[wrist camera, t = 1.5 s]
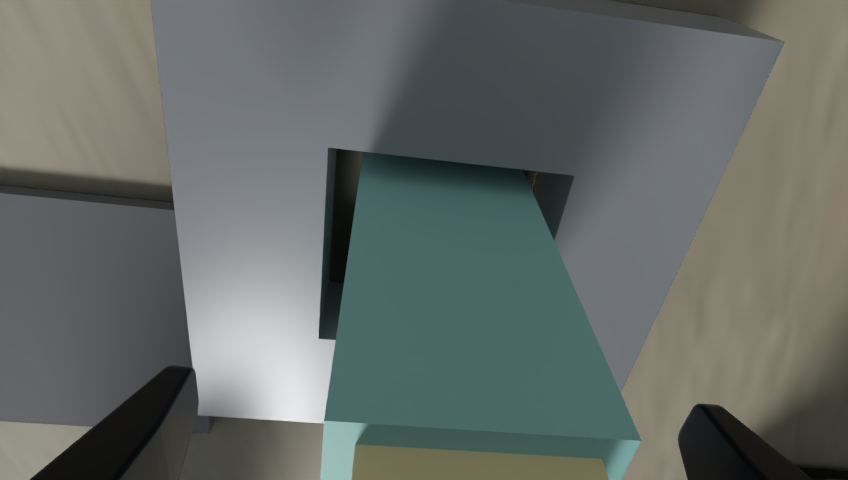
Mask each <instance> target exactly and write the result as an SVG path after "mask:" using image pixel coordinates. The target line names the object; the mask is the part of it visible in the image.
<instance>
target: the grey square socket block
mask: <svg viewBox="0 0 848 480" xmlns="http://www.w3.org/2000/svg"><path fill="white" fill-rule="evenodd" d="M150 1H151V9H152V18H153V27H154V35H155V44H156V53H157V62H158V70H159V79H160V88H161V96H162V105H163V114H164V122H165V131H166V140H167V149H168V157H169V166H170V175H171V183H172V192H173V201H174V209H175V218H176V227H177V236H178V244H179V253H180V262H181V270H182V279H183V288H184V297H185V305H186V314H187V323H188V331H189V340H190V349H191V357H192V366H193V368H194V369H195V372H196V379H197V388H198V397H199V406H198V415H199V416H215V417H230V418H246V419H262V420H278V421H294V422H310V423H324V417H325V411H326V404H327V397H328V390H329V383H330V376H331V369H332V362H333V355H334V349H335V342H336V335H337V328H338V321H339V314H340V307H341V300H342V293H343V287H344V283H337V282H329V273H330V256H331V239H332V222H333V205H334V188H335V171H336V154H337V149H345V150H354V151H363V152H371V153H380V154H389V155H398V156H406V157H415V158H424V159H433V160H441V161H450V162H459V163H468V164H477V165H485V166H494V167H503V168H512V169H520V170H529V171H538V176H537V180H536V183H535V187H534V191H533V194H534V196H535V199H536V201H537V203H538V205H539V208H540V210H541V212H542V215H543V217H544V219H545V221H546V224H547V226H548V228H549V231H550V233H551V235H552V237H553V240H554V242H555V244H556V247H557V249H558V251H559V253H560V256H561V258H562V260H563V263H564V265H565V267H566V269H567V272H568V274H569V276H570V279H571V281H572V283H573V285H574V288H575V290H576V292H577V295H578V297H579V299H580V301H581V304H582V306H583V308H584V311H585V313H586V315H587V318H588V320H589V322H590V324H591V327H592V329H593V331H594V334H595V336H596V338H597V340H598V343H599V345H600V347H601V350H602V352H603V354H604V356H605V359H606V361H607V363H608V366H609V368H610V370H611V372H612V375H613V377H614V379H615V382H616V384H617V386H618V388H619V391H620V393H621V391H622V389H623V387H624V385H625V383H626V380H627V378H628V376H629V374H630V372H631V370H632V368H633V365H634V363H635V361H636V359H637V357H638V355H639V353H640V351H641V348H642V346H643V344H644V342H645V340H646V338H647V336H648V333H649V331H650V329H651V327H652V325H653V323H654V321H655V318H656V316H657V314H658V312H659V310H660V308H661V306H662V303H663V301H664V299H665V297H666V295H667V293H668V291H669V288H670V286H671V284H672V282H673V280H674V278H675V276H676V273H677V271H678V269H679V267H680V265H681V263H682V261H683V258H684V256H685V254H686V252H687V250H688V248H689V246H690V243H691V241H692V239H693V237H694V235H695V233H696V231H697V229H698V226H699V224H700V222H701V220H702V218H703V216H704V214H705V211H706V209H707V207H708V205H709V203H710V201H711V199H712V196H713V194H714V192H715V190H716V188H717V186H718V184H719V181H720V179H721V177H722V175H723V173H724V171H725V169H726V166H727V164H728V162H729V160H730V158H731V156H732V154H733V151H734V149H735V147H736V145H737V143H738V141H739V139H740V136H741V134H742V132H743V130H744V128H745V126H746V124H747V121H748V119H749V117H750V115H751V113H752V111H753V109H754V107H755V104H756V102H757V100H758V98H759V96H760V94H761V92H762V89H763V87H764V85H765V83H766V81H767V79H768V77H769V74H770V72H771V70H772V68H773V66H774V64H775V62H776V59H777V57H778V55H779V53H780V51H781V49H782V47H783V44H784V42H783V41H781V40H778V39H776V38H773V37H771V36H768V35H766V34H763V33H761V32H758V31H755V30H753V29H750V28H748V27H745V26H743V25H740V24H738V23H735V22H733V21H730V20H728V19H725V18H722V17H717V16H710V15H703V14H697V13H690V12H683V11H677V10H670V9H663V8H656V7H650V6H643V5H636V4H630V3H623V2H616V1H609V0H150Z"/></svg>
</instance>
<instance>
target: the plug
mask: <svg viewBox="0 0 848 480" xmlns="http://www.w3.org/2000/svg"><path fill="white" fill-rule="evenodd" d="M640 443H641V439H640V436H639V434H638V432H637V430H636V427H635V425H634V423H633V420H632V418H631V416H630V414H629V411H628V409H627V407H626V404H625V402H624V400H623V398H622V395H621V393H620V391H619V388H618V386H617V384H616V382H615V379H614V377H613V375H612V372H611V370H610V368H609V366H608V363H607V361H606V359H605V356H604V354H603V352H602V350H601V347H600V345H599V343H598V340H597V338H596V336H595V334H594V331H593V329H592V327H591V324H590V322H589V320H588V318H587V315H586V313H585V311H584V308H583V306H582V304H581V301H580V299H579V297H578V295H577V292H576V290H575V288H574V285H573V283H572V281H571V279H570V276H569V274H568V272H567V269H566V267H565V265H564V263H563V260H562V258H561V256H560V253H559V251H558V249H557V247H556V244H555V242H554V240H553V237H552V235H551V233H550V231H549V228H548V226H547V224H546V221H545V219H544V217H543V215H542V212H541V210H540V208H539V205H538V203H537V201H536V199H535V196H534V194H533V192H532V189H531V187H530V185H529V183H528V180H527V178H526V176H525V173H524V171H523V170H520V169H512V168H503V167H494V166H485V165H477V164H468V163H459V162H450V161H441V160H433V159H424V158H415V157H406V156H398V155H389V154H380V153H371V152H363V156H362V163H361V169H360V176H359V183H358V190H357V197H356V204H355V211H354V218H353V225H352V231H351V238H350V245H349V252H348V259H347V266H346V273H345V280H344V287H343V293H342V300H341V307H340V314H339V321H338V328H337V335H336V342H335V349H334V355H333V362H332V369H331V376H330V383H329V390H328V397H327V404H326V411H325V417H324V429H323V445H322V460H321V476H320V480H621V478H622V477H623V475H624V473H625V471H626V469H627V467H628V465H629V463H630V461H631V460H632V458H633V456H634V454H635V452H636V450H637V448H638V446H639V445H640Z"/></svg>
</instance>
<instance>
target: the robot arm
mask: <svg viewBox="0 0 848 480" xmlns="http://www.w3.org/2000/svg"><path fill="white" fill-rule="evenodd" d="M198 406H199V397H198V388H197V379H196V372H195V369H194V368H193V367H191V366H180V365H170V366H167V367H165V368H164V369H163V370H162V371H160V372H159V373H158V374H157V375H156V376H154V377H153V378H152V379H151V380H150V381H148V382H147V383H146V384H145V385H144V386H142V387H141V388H140V389H139V390H138V391H136V392H135V393H134V394H133V395H131V396H130V397H129V398H128V399H127V400H125V401H124V402H123V403H122V404H121V405H119V406H118V407H117V408H116V409H115V410H113V411H112V412H111V413H110V414H108V415H107V416H106V417H105V418H104V419H102V420H101V421H100V422H99V423H98V424H96V425H95V426H94V427H93V428H92V429H90V430H89V431H88V432H87V433H86V434H84V435H83V436H82V437H81V438H79V439H78V440H77V441H76V442H75V443H73V444H72V445H71V446H70V447H69V448H67V449H66V450H65V451H64V452H63V453H61V454H60V455H59V456H58V457H56V458H55V459H54V460H53V461H52V462H50V463H49V464H48V465H47V466H46V467H44V468H43V469H42V470H41V471H40V472H38V473H37V474H36V475H35V476H34V477H32V478H31V479H30V480H179V477H180V474H181V470H182V467H183V463H184V459H185V456H186V452H187V449H188V445H189V441H190V438H191V434H192V430H193V427H194V423H195V420H196V416H197V412H198ZM678 444H679V448H680V452H681V456H682V460H683V464H684V467H685V471H686V475H687V479H688V480H848V472H845V471H828V470H811V469H799V468H797V467H796V466H795V465H794V464H792V463H791V462H790V461H789V460H787V459H786V458H785V457H784V456H782V455H781V454H780V453H779V452H778V451H776V450H775V449H774V448H773V447H771V446H770V445H769V444H768V443H766V442H765V441H764V440H763V439H761V438H760V437H759V436H758V435H756V434H755V433H754V432H753V431H751V430H750V429H749V428H748V427H747V426H745V425H744V424H743V423H742V422H740V421H739V420H738V419H737V418H735V417H734V416H733V415H732V414H730V413H729V412H728V411H727V410H725V409H724V408H723V407H721V406H719V405H713V404H697V405H695V406H694V407H693V409H692V410H691V412H690V414H689V416H688V417H687V419H686V421H685V423H684V424H683V426H682V428H681V429H680V432H679V435H678Z"/></svg>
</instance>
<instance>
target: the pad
mask: <svg viewBox="0 0 848 480" xmlns="http://www.w3.org/2000/svg"><path fill="white" fill-rule="evenodd" d="M170 365H180V366H191V367H193V366H192V357H191V349H190V340H189V331H188V323H187V314H186V305H185V297H184V288H183V279H182V270H181V262H180V253H179V244H178V236H177V227H176V218H175V209H174V203H172V202H162V201H152V200H142V199H132V198H122V197H113V196H103V195H93V194H83V193H73V192H63V191H53V190H43V189H33V188H23V187H14V186H4V185H0V421H8V422H24V423H41V424H58V425H74V426H91V427H94V426H95V425H96V424H98V423H99V422H100V421H101V420H102V419H104V418H105V417H106V416H107V415H108V414H110V413H111V412H112V411H113V410H115V409H116V408H117V407H118V406H119V405H121V404H122V403H123V402H124V401H125V400H127V399H128V398H129V397H130V396H131V395H133V394H134V393H135V392H136V391H138V390H139V389H140V388H141V387H142V386H144V385H145V384H146V383H147V382H148V381H150V380H151V379H152V378H153V377H154V376H156V375H157V374H158V373H159V372H160V371H162V370H163V369H164V368H165V367H167V366H170ZM212 426H213V419H212V416H199V415H198V412H197V416H196V420H195V423H194V427H193V430H192V433H208V434H210V431H211V429H212Z"/></svg>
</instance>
